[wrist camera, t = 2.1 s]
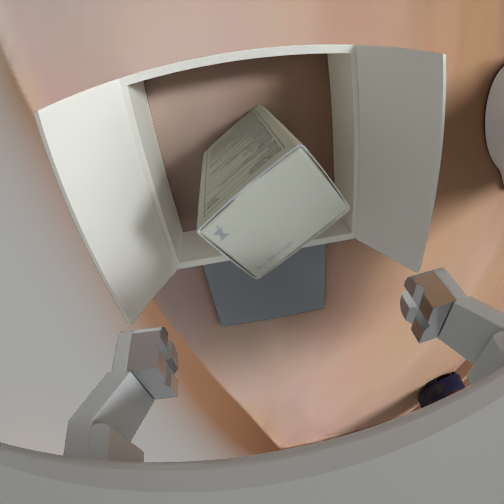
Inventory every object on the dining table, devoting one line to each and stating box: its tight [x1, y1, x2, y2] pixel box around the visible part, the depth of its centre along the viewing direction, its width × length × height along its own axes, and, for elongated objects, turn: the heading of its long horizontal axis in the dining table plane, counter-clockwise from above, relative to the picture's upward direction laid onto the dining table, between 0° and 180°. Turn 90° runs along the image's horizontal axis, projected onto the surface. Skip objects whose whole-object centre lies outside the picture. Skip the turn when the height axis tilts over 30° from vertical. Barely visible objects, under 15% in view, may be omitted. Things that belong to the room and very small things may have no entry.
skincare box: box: [197, 105, 350, 279], centre depth 19 cm, size 6×4×12 cm
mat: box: [203, 244, 326, 327], centre depth 32 cm, size 12×10×1 cm
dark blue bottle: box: [418, 372, 465, 408], centre depth 48 cm, size 14×12×30 cm
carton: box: [34, 45, 446, 324], centre depth 20 cm, size 22×15×10 cm
